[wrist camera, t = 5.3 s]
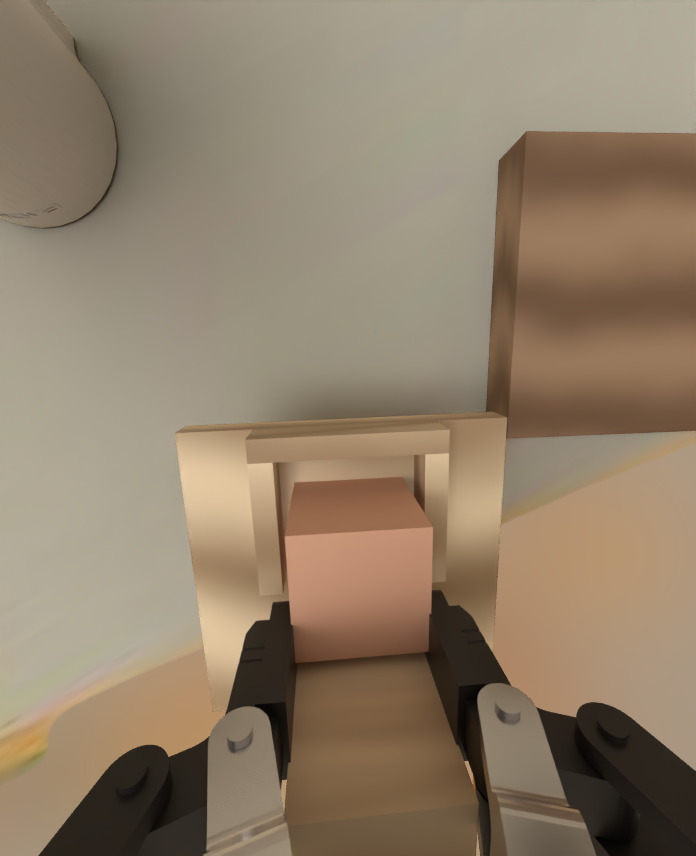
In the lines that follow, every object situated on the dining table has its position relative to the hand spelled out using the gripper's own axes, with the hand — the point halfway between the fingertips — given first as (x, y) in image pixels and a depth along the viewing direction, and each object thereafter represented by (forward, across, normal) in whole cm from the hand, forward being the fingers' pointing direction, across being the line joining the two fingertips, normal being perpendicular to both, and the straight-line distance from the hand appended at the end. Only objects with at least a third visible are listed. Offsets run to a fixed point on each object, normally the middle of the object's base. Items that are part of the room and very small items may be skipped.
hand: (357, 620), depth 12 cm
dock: (+13, -18, -11) cm, 25 cm away
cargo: (+3, 0, -2) cm, 3 cm away
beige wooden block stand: (+4, 0, 0) cm, 4 cm away
